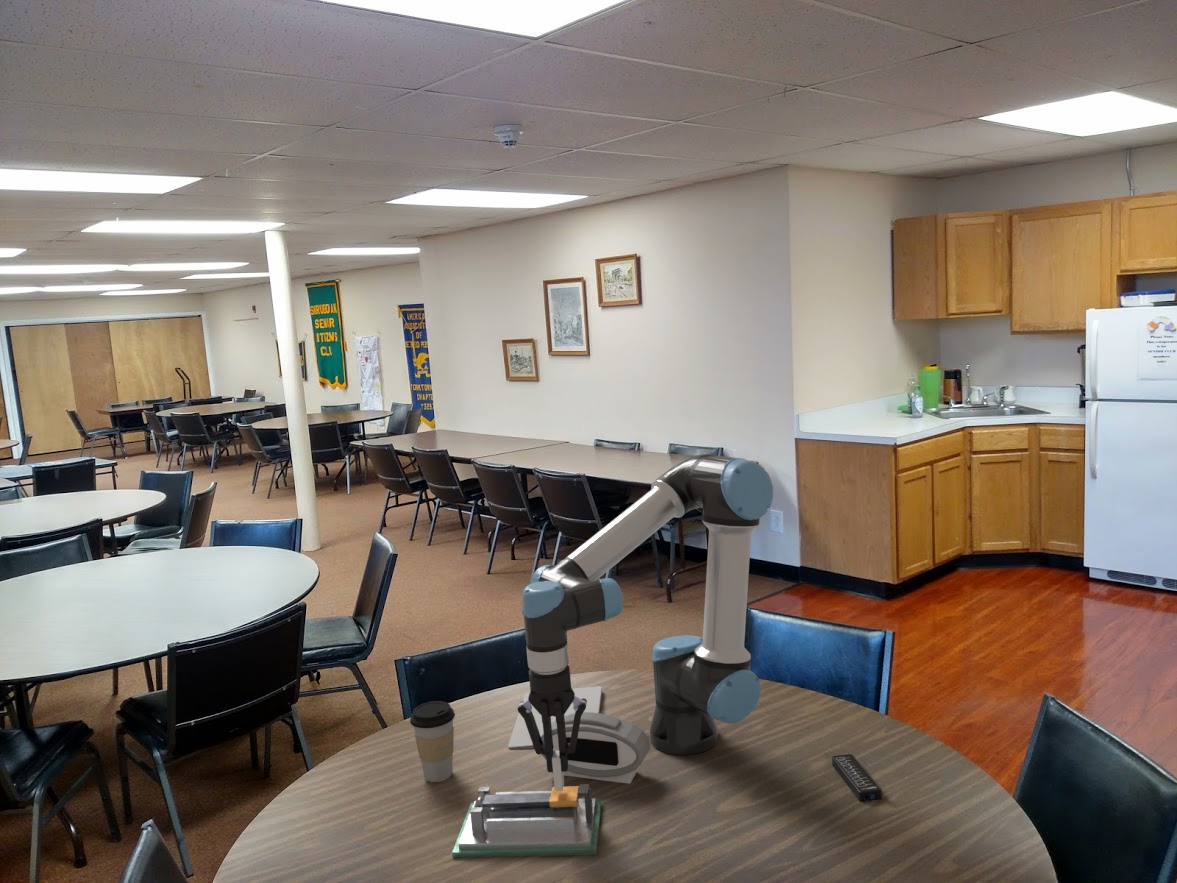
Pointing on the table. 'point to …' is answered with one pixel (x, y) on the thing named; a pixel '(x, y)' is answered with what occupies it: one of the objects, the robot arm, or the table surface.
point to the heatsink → (530, 829)
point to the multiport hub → (856, 778)
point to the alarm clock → (603, 747)
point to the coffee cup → (434, 739)
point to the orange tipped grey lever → (531, 799)
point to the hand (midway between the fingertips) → (559, 786)
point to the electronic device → (520, 731)
